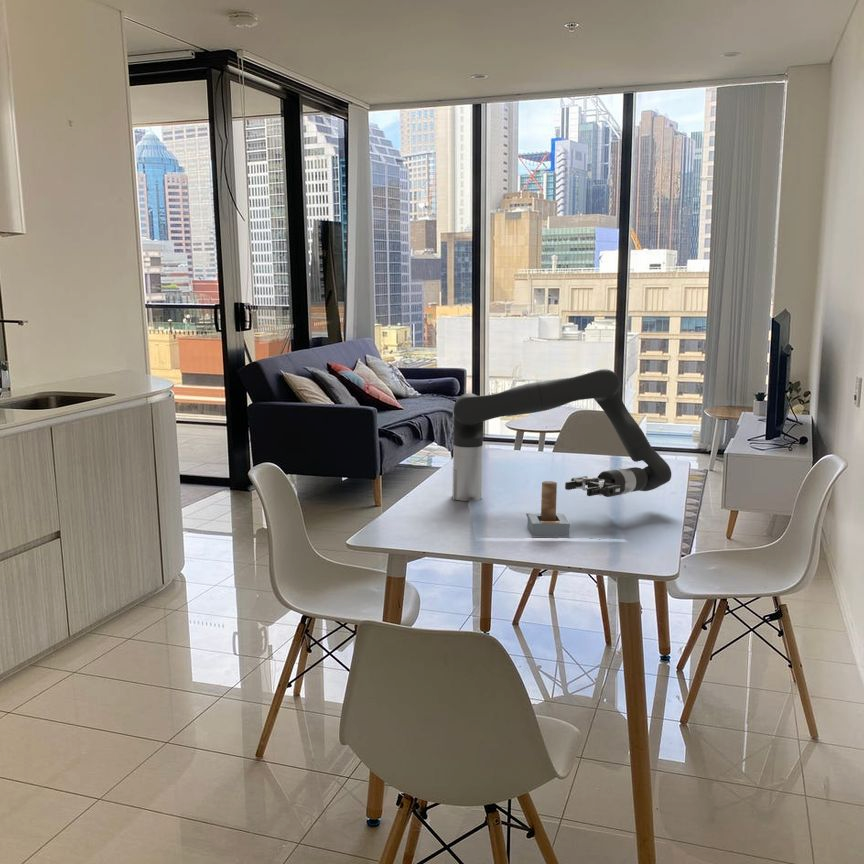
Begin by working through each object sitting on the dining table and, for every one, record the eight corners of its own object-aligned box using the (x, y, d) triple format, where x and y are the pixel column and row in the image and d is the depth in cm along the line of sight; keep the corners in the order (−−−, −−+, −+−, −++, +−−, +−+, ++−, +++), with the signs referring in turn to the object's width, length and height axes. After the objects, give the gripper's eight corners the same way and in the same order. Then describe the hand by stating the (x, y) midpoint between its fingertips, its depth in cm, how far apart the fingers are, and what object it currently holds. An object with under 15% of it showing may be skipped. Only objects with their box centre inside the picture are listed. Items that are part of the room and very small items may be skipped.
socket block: (531, 537, 231) (532, 522, 230) (527, 527, 241) (527, 512, 240) (569, 538, 231) (569, 522, 230) (563, 527, 241) (563, 513, 240)
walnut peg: (541, 534, 234) (543, 484, 232) (539, 530, 238) (541, 481, 236) (556, 534, 234) (557, 484, 232) (554, 530, 238) (555, 481, 236)
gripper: (599, 465, 255) (559, 471, 246) (636, 474, 244) (596, 481, 235) (597, 489, 257) (558, 496, 247) (634, 500, 245) (594, 507, 236)
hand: (576, 489), depth 241 cm, fingers open, 8 cm apart
